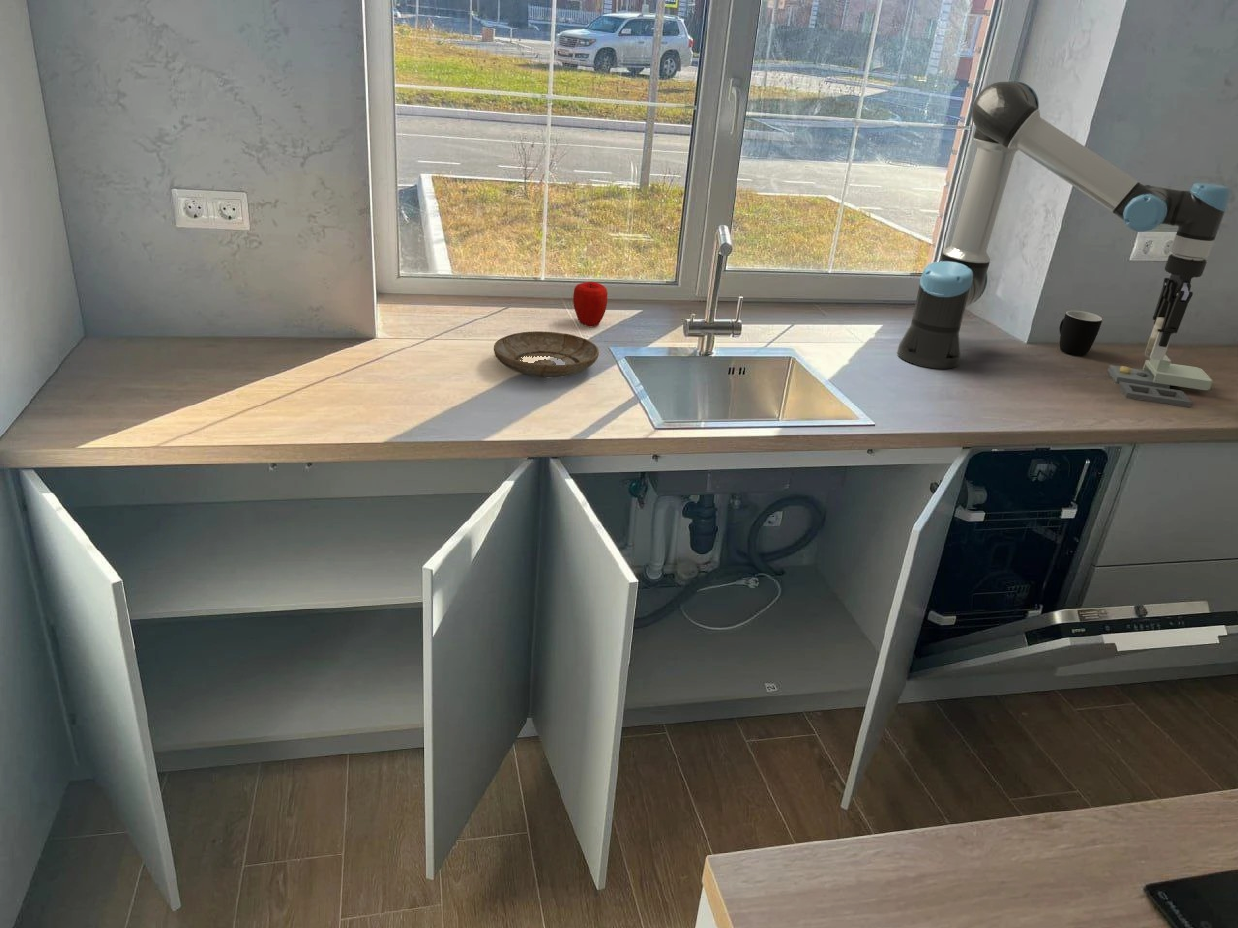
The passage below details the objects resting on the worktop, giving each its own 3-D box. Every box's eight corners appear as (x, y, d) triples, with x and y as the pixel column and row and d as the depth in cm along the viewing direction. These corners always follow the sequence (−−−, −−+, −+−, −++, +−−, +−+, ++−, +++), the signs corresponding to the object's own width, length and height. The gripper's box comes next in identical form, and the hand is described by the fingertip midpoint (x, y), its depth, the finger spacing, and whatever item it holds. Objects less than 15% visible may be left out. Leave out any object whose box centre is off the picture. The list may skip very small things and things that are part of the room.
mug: (1098, 358, 241) (1110, 321, 237) (1068, 358, 240) (1079, 320, 235) (1070, 343, 252) (1081, 307, 247) (1041, 342, 250) (1052, 306, 246)
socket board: (1125, 397, 216) (1127, 392, 215) (1118, 386, 223) (1119, 381, 222) (1190, 407, 213) (1191, 402, 212) (1180, 395, 220) (1182, 390, 219)
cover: (1153, 382, 222) (1160, 361, 220) (1142, 368, 231) (1150, 348, 229) (1209, 390, 220) (1218, 369, 217) (1197, 376, 228) (1205, 356, 226)
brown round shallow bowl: (619, 371, 207) (620, 350, 204) (542, 395, 191) (543, 373, 188) (548, 343, 220) (549, 323, 218) (471, 363, 204) (471, 342, 202)
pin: (1145, 357, 213) (1158, 320, 209) (1143, 353, 216) (1155, 316, 212) (1162, 360, 212) (1176, 323, 208) (1159, 355, 215) (1172, 318, 211)
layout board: (1115, 382, 225) (1119, 372, 224) (1107, 370, 233) (1111, 360, 231) (1168, 390, 222) (1172, 380, 221) (1158, 378, 230) (1162, 368, 229)
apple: (575, 317, 239) (577, 276, 234) (608, 321, 238) (610, 280, 234) (568, 327, 231) (570, 285, 227) (602, 331, 231) (605, 289, 226)
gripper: (1218, 266, 196) (1181, 369, 206) (1195, 250, 210) (1161, 347, 220) (1180, 262, 197) (1145, 364, 207) (1160, 246, 212) (1128, 343, 222)
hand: (1154, 355), depth 214 cm, fingers closed on pin, 3 cm apart
